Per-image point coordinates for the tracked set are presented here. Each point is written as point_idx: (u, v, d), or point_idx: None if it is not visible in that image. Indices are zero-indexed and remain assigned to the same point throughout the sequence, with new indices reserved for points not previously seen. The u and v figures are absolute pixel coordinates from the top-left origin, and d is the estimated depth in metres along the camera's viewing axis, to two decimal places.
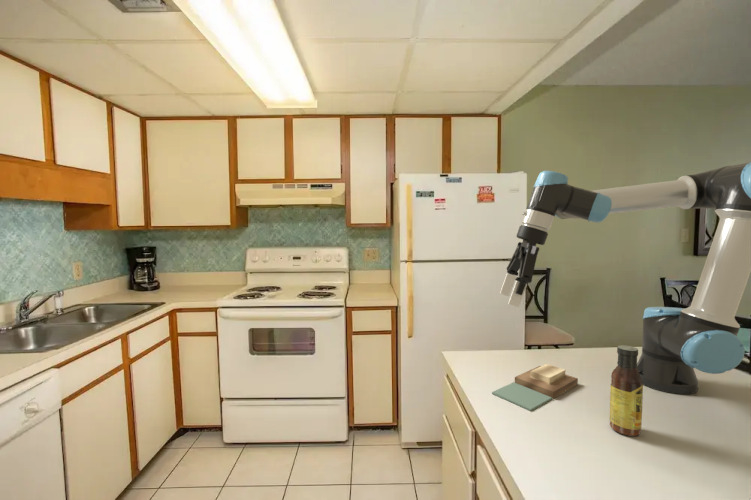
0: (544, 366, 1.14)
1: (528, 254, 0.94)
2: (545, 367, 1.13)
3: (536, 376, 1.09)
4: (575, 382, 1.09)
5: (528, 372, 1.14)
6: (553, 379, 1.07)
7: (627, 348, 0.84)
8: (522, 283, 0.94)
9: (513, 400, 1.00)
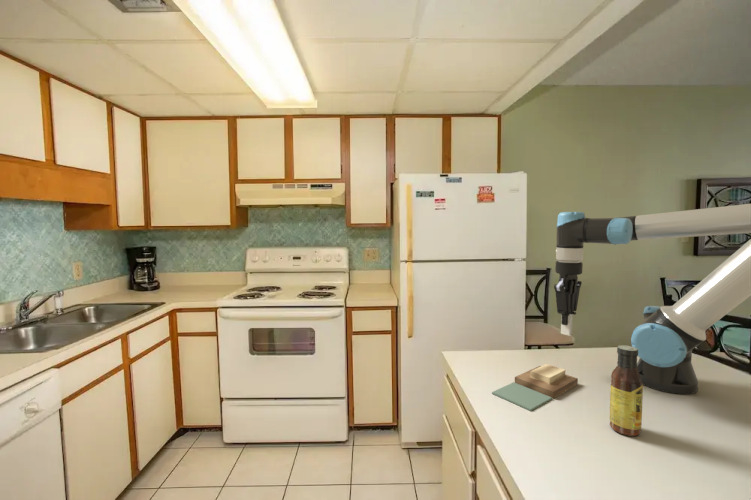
0: (544, 366, 1.14)
1: (556, 292, 1.13)
2: (545, 367, 1.13)
3: (536, 376, 1.09)
4: (575, 382, 1.09)
5: (528, 372, 1.14)
6: (553, 379, 1.07)
7: (627, 348, 0.84)
8: (563, 315, 1.15)
9: (513, 400, 1.00)
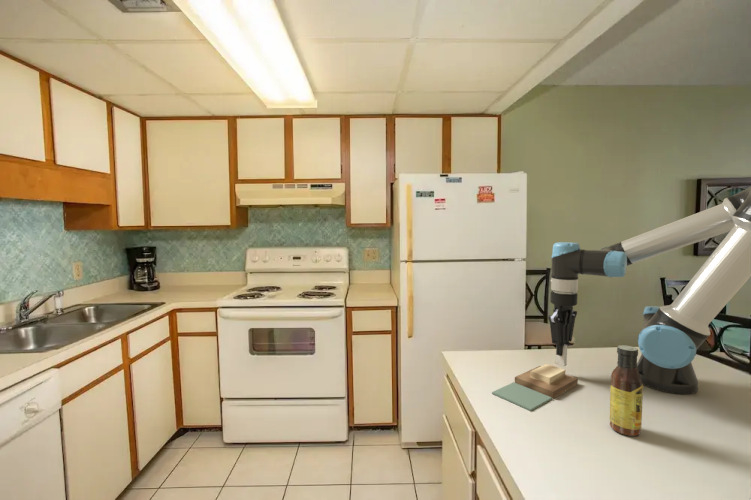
0: (544, 366, 1.14)
1: (550, 323, 1.12)
2: (545, 367, 1.13)
3: (536, 376, 1.09)
4: (575, 382, 1.09)
5: (528, 372, 1.14)
6: (553, 379, 1.07)
7: (627, 348, 0.84)
8: (557, 346, 1.14)
9: (513, 400, 1.00)
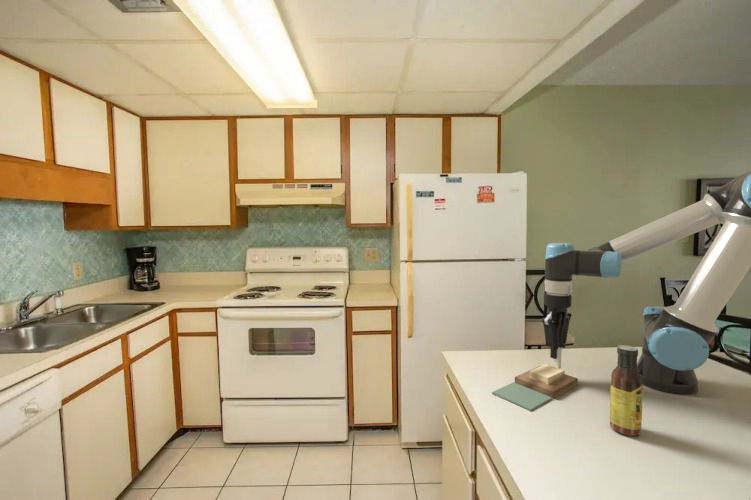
0: (543, 366, 1.14)
1: (544, 326, 1.10)
2: (544, 367, 1.13)
3: (535, 376, 1.09)
4: (575, 382, 1.09)
5: (528, 372, 1.14)
6: (552, 379, 1.07)
7: (627, 348, 0.84)
8: (552, 348, 1.12)
9: (513, 400, 1.00)
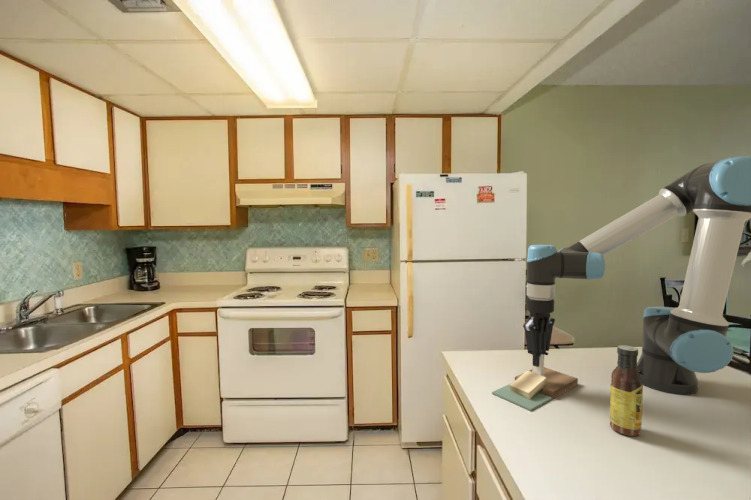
0: (524, 374, 1.08)
1: (526, 332, 1.04)
2: (525, 376, 1.07)
3: (516, 390, 1.03)
4: (575, 382, 1.09)
5: None
6: (533, 392, 1.01)
7: (627, 348, 0.84)
8: (534, 356, 1.06)
9: (513, 400, 1.00)
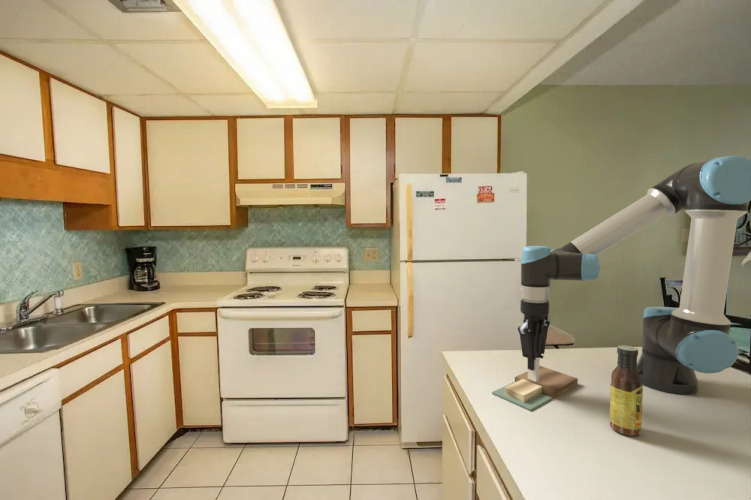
0: (520, 381, 1.07)
1: (520, 335, 1.03)
2: (520, 383, 1.06)
3: (510, 393, 1.02)
4: (575, 382, 1.09)
5: None
6: (528, 397, 1.00)
7: (627, 348, 0.84)
8: (529, 359, 1.04)
9: (513, 400, 1.00)
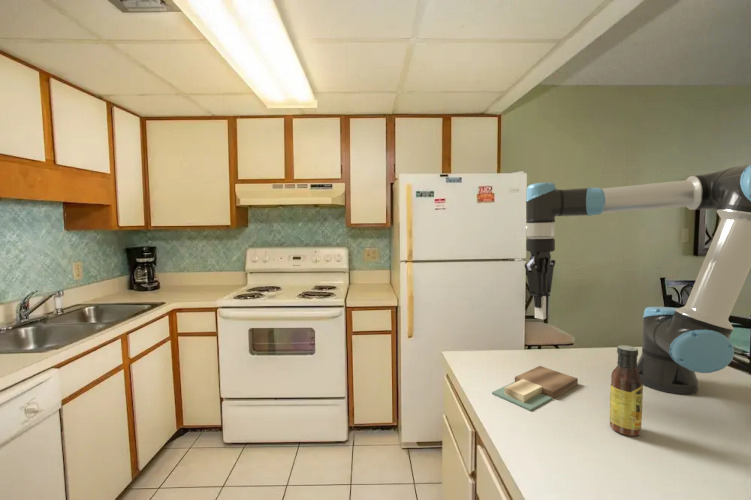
0: (520, 381, 1.07)
1: (527, 272, 1.03)
2: (520, 383, 1.06)
3: (510, 393, 1.02)
4: (575, 382, 1.09)
5: (528, 372, 1.14)
6: (528, 397, 1.00)
7: (627, 348, 0.84)
8: (536, 297, 1.05)
9: (513, 400, 1.00)
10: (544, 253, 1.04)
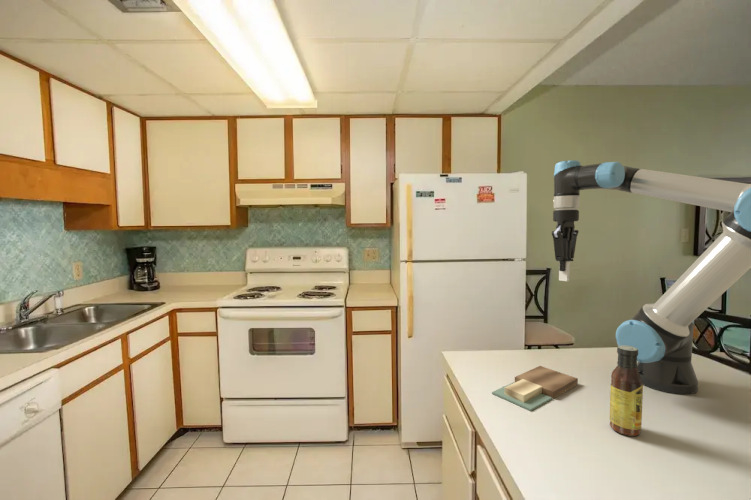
0: (520, 381, 1.07)
1: (554, 239, 1.17)
2: (520, 383, 1.06)
3: (510, 393, 1.02)
4: (575, 382, 1.09)
5: (528, 372, 1.14)
6: (528, 397, 1.00)
7: (627, 348, 0.84)
8: (561, 261, 1.19)
9: (513, 400, 1.00)
10: (569, 223, 1.19)
